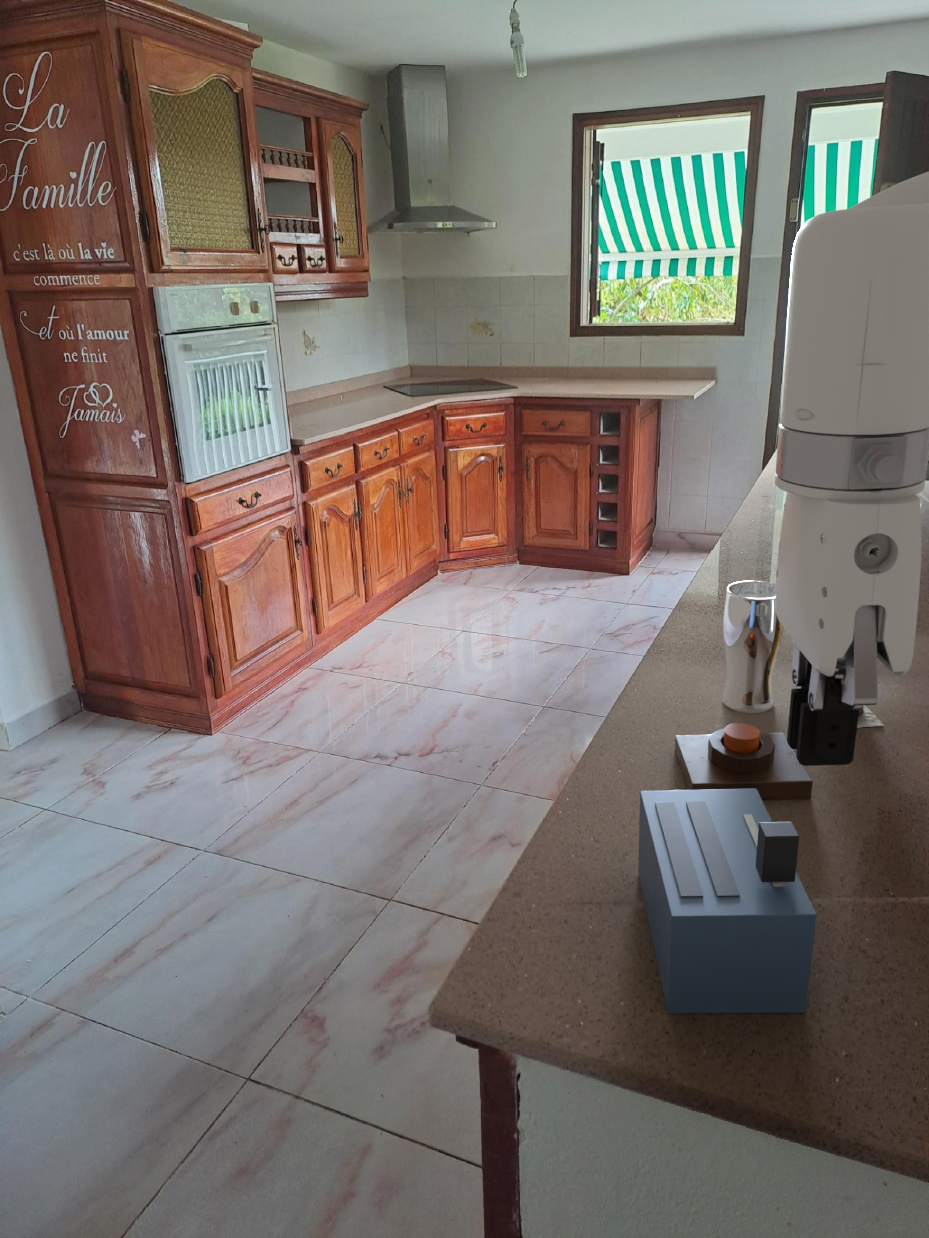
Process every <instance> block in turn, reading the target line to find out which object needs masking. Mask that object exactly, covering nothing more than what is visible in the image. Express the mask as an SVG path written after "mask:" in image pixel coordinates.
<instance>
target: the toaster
mask: <svg viewBox="0 0 929 1238" xmlns="http://www.w3.org/2000/svg"><path fill="white" fill-rule="evenodd" d="M766 807H767V806H765V803H764V800H762V799H761V797H760V795H759V793H758V791H757V789H756V788H755V789H711V790H688V789H673V790H640V791H639V822H638V823H639V824H638V869H637V870H638V873H637V875H638V876H637V877H638V880H639V884H640V890H641V894H642V899H643V903H644V909H645V908H646V909H645V914H646V918H647V922H648V927H649V931H650V936H651V942H652V945H653V950H654V954H655V959H656V960H655V961H656V964H657V969H658V973H659V978H660V984H661V987H662V992H663V997H664V1001H665V1006H666V1010H667V1011H666V1012H667V1014H670V1015H672V1014H673V1015H674V1014H677V1015H679V1014H798V1013H799V1014H804V1013H806V1012H807V1003H808V996H809V995H808V994H809V986H810V977H811V968H812V959H813V949H814V941H815V933H816V925H817V917H818V916H817V913H816V910H815V908H814V906H813V904H812V902H811V899H810V898H809V895H808V894H807V891H806V889H805V887H804V884H803V883H802V881H801V879H800V877H799V875H798V872H797V871H796V875H795V882H761V879H760V877H759V874H758V872H757V870H756V867H755V866H756V853H757V841H758V828H759V823H763V822H773V820H772V818H771V815H770V814H769V812H768V809H767V808H766Z"/></svg>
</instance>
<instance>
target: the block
mask: <svg viewBox="0 0 929 1238" xmlns="http://www.w3.org/2000/svg"><path fill="white" fill-rule="evenodd" d="M724 729H725V727H724V728H721V729H718V730H715V731H713V732H712V733H711V734H687V735H686V734H685V735H675V737H674V755H675V757H676V760H677V763H678V766H679V770H680V772H681V775H682V778H683V781H684V784H685V786H686V790H711V789H755V788H756V789H757V791H758V793H759V795H760V797H761V799H762V801H793V800H794V801H795V800H796V801H797V800H800V801H801V800H811V799H812V792H813V779H812V777H811V776H810V774H809V772H808V770H807V769H806V766H803V765H801V764H800V763H799V761H798V760H797V758H796V754H797V751H796V750H795V749H792V748H790V746H789V744H788V743H787V736H786V733H785V732H761V731H760V741H759V749H758V750H757V751H754V752H744V753H740V752H736V751H732V750H729V749H727V748H726V747H724Z"/></svg>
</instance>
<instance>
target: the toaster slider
mask: <svg viewBox="0 0 929 1238" xmlns="http://www.w3.org/2000/svg"><path fill="white" fill-rule="evenodd" d="M799 845H800V834H799V833H798V831H797V829H796V827H795V825H794V824H793V822H792V821H772V822H763V823H759V828H758V841H757V853H756V866H755V867H756V870H757V872H758V874H759V877H760V879H761V882H795V875H796V872H797V865H798V864H797V863H798V853H799Z"/></svg>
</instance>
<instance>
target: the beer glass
mask: <svg viewBox="0 0 929 1238" xmlns="http://www.w3.org/2000/svg"><path fill="white" fill-rule="evenodd" d="M775 587H776V583H773V582H769V581H765V580H741V581H736V582H733V583H731V584H728V586H727V587H726V593H725V594H726V596H725V601H724V608H723V609H724V610H723V618H722V635H723V646H724V654H725V661H726V682H725V687H724V690H723V693H722V699H721V700H722V704H723V705H724V706H725V707H726V708H728V709H730V710H731V711H734V712H737V713H740V714H748V715H755V714H763V713H766V712H768V711H770V710H771V709H772V708H773V707H774V694H773V675H774V670H775V666H776V663H777V659H778V656H779V652H780V648H781V645H782V640H783V636H784V631H785V629H784V628H783V627H782V625H781V624H780V622H779V620H778V617H777V614H776V609H775Z"/></svg>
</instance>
